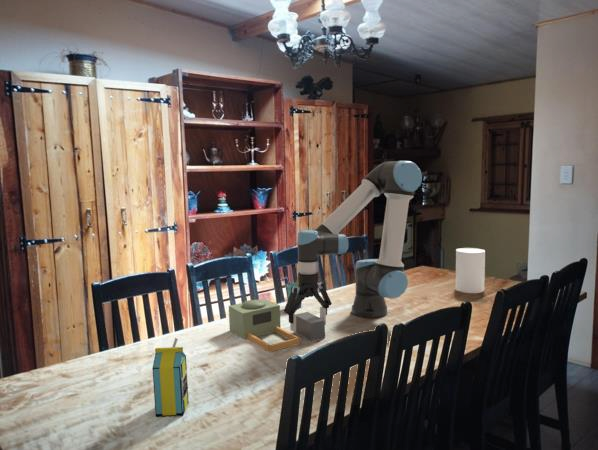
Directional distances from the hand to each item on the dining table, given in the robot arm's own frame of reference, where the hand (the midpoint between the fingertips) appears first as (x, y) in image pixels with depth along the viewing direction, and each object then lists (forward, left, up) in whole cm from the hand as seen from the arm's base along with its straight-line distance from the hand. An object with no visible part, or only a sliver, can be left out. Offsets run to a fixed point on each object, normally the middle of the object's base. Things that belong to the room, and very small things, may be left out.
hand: (308, 327), depth 173 cm
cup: (-14, -32, -3) cm, 35 cm away
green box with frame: (+14, -9, -3) cm, 17 cm away
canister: (-100, -2, -3) cm, 100 cm away
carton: (+60, +22, -3) cm, 64 cm away
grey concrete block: (0, 0, -3) cm, 3 cm away
